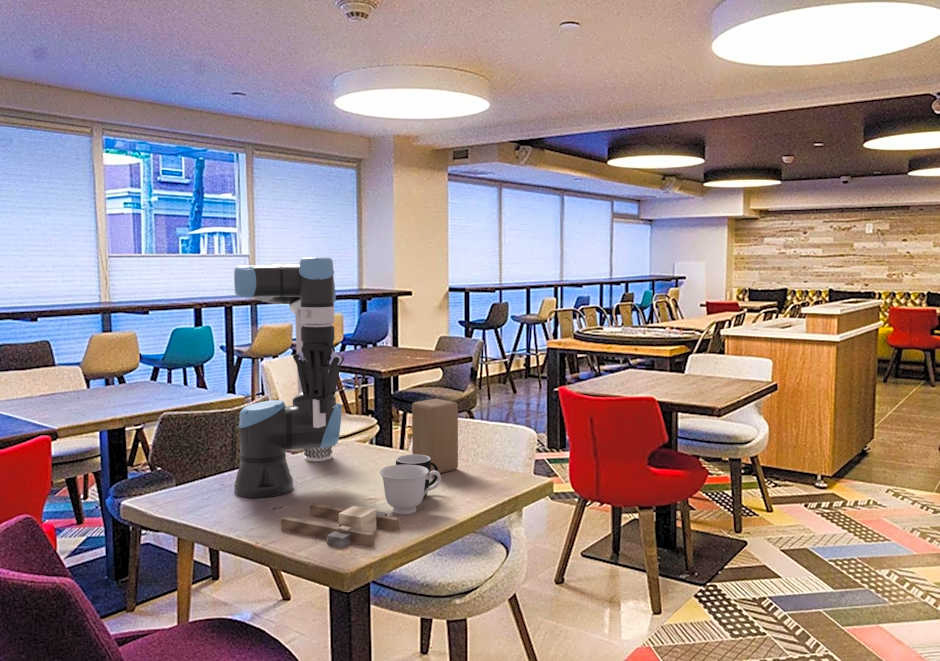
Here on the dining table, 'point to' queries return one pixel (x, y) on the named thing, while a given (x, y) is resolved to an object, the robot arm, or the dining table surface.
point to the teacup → (406, 486)
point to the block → (436, 432)
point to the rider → (358, 518)
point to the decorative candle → (318, 454)
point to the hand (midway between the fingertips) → (319, 426)
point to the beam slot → (336, 533)
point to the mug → (421, 461)
